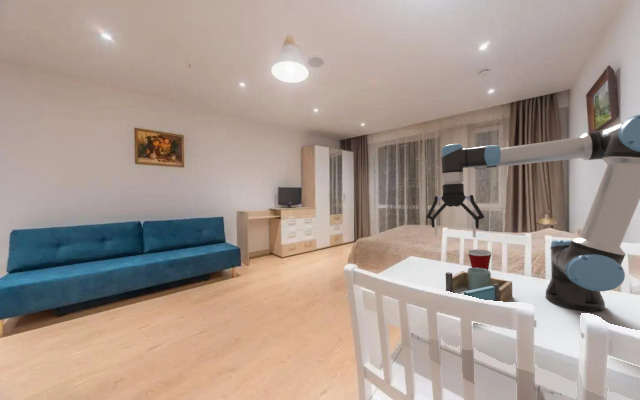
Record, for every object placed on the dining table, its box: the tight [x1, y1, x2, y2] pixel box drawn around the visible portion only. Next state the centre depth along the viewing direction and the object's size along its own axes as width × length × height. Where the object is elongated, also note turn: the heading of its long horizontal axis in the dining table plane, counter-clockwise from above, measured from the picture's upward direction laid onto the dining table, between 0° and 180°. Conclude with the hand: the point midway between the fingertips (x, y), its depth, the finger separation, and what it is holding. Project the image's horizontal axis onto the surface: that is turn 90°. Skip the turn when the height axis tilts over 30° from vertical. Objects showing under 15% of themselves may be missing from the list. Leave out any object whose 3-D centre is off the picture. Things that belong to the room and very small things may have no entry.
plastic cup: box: [466, 248, 493, 270], centre depth 122 cm, size 11×11×12 cm
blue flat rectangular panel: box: [463, 286, 495, 301], centre depth 86 cm, size 14×1×7 cm, turn 109°
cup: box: [467, 267, 492, 290], centre depth 99 cm, size 8×8×10 cm
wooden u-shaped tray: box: [445, 270, 513, 303], centre depth 99 cm, size 19×15×8 cm
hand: (454, 235), depth 98 cm, fingers open, 13 cm apart
